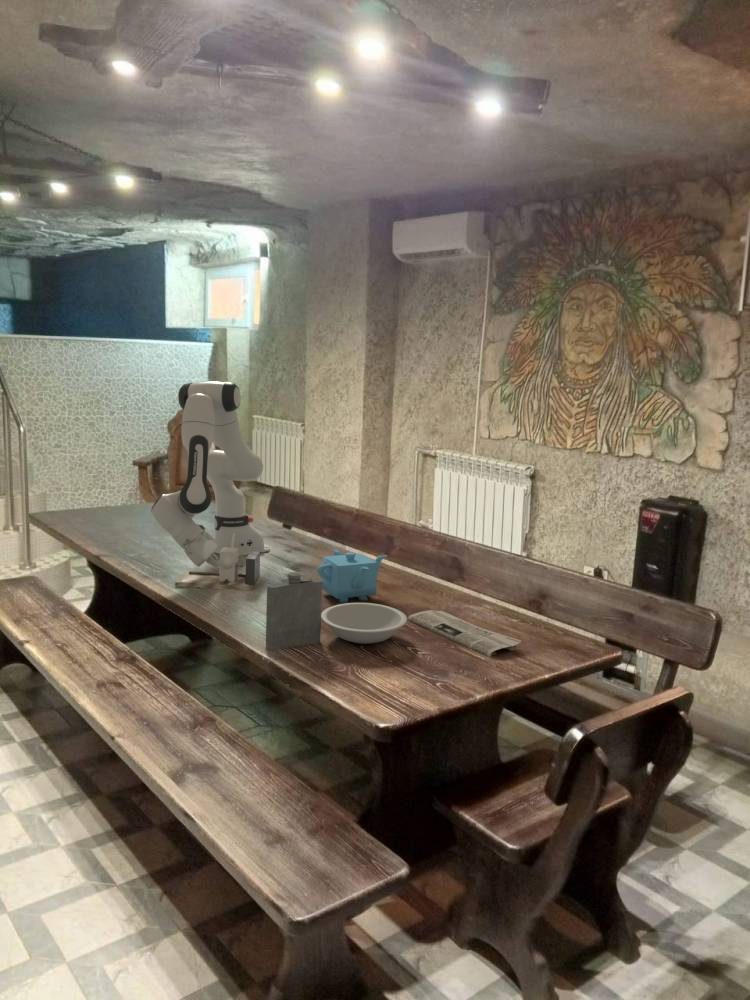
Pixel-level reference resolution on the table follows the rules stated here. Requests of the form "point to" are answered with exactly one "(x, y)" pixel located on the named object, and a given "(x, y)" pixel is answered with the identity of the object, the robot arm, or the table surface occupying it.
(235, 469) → the robot arm
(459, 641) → the newspaper
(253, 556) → the dark grey slab
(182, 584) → the board
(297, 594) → the hip flask
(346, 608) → the soup bowl
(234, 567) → the block
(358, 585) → the teakettle
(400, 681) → the table surface
